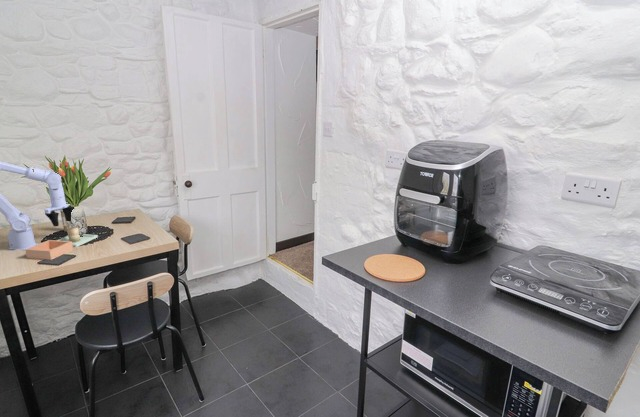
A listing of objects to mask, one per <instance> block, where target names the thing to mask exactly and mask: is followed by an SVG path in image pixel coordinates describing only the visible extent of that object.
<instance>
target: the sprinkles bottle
mask: <svg viewBox="0 0 640 417" xmlns="http://www.w3.org/2000/svg"><path fill="white" fill-rule="evenodd" d="M59 212H60V215H61V217H60V218H61V222H62V226H63V232H67V226H66V218H65V215H64V212H63V210H62V209H60V210H59Z"/></svg>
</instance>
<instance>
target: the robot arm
mask: <svg viewBox="0 0 640 417" xmlns="http://www.w3.org/2000/svg"><path fill="white" fill-rule="evenodd" d="M32 169H34V172H33V170H32ZM0 171H4V172H9V173H13V174H14V173H15V174H17V175H22V176H23V175H24V176H25V177H26V178H27V179H29V180H32V181H36V182H41V183H46V184H47V186H48V192H49V198H50V203H51V206H50V207H47V208H45V209H44V215H45V216H46V217H47V218H48V219H49V220H50V222H51V224H52V226H53V227H59V226H60V223H59V214H60V213H59V212H57V211H60V209H62V210H63V212H64V215H65V218H66V221H69V222H70V221H71V212H72V210H73V209H74V210H75V206H72V207H71V206H69V205H70V204H66V203H67V201H66V196H65V195H66V194H65V191H64V187H63V183H62V179H61V177H62V175H61V174H60V173H59V174H60V175H61V176H60V175H59V174H57V173H58V172H57V173H55V172H56V171H55V172H54V170H53V171H51V170H50V169H48V170H46V169H42V168H39V166H29V167H23V166H20V165H16V164H12V163H10V162H6V161H3V160H0ZM0 213H1V214H3V216H4V217H5V218H6V221H7V222H8V223H9V226H10V228H11V230H9V231H8V233H7V240H8V244H9V248H8V250H12V251H13V250H14V251H16V250H19V251H20V250H21V251H25V249H28V248H30V247H33V246H35V245H38V244H40V243H37V242H36V241H35V235H34V230H33V226H31V225H30V223H31V221H32V219H31V217H30V216H29V215H28V214H26V213H23V212H22V211H21V210H20V209H17V208H16V207H15V206H14V205H13V204H12V203H11V202H10V201H9V200H8V199H7V198H6V197H5V196H4V195H3V194H2V193H1V192H0Z"/></svg>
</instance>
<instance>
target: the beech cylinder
mask: <svg viewBox="0 0 640 417" xmlns="http://www.w3.org/2000/svg"><path fill="white" fill-rule="evenodd" d="M79 234H80V230H79V227H78V226H73V227H71V228H68V229H67V236H68V237H69V241H72V242H78V241H80V235H79Z"/></svg>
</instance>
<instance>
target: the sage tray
mask: <svg viewBox="0 0 640 417" xmlns="http://www.w3.org/2000/svg"><path fill="white" fill-rule="evenodd" d="M82 234H83V235H82V236H83V237H80V241H78V242H72V245H73V248H77V247H79V246H81V245H84V244H86V243H88V242H90V241H93V240H97V239H99V236H98V234H85V233H82ZM96 238H97V239H96ZM56 241H69V237H68V235H66V236H64V237H61V238H58V239H56Z"/></svg>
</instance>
